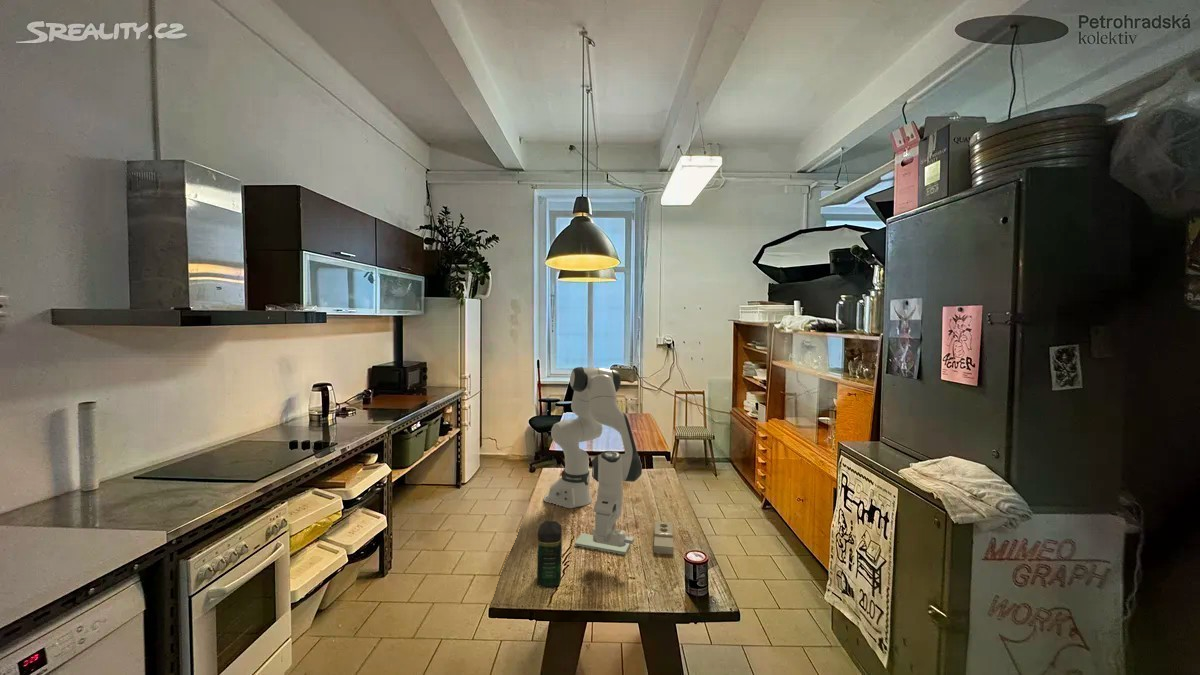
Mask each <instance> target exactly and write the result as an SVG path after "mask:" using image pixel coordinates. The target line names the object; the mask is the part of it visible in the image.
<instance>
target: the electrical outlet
mask: <svg viewBox="0 0 1200 675" xmlns="http://www.w3.org/2000/svg"><path fill="white" fill-rule="evenodd" d="M673 526H674V525H673V522H667V521H658V520H657V521H654V536H653V539H654V540H653V553H654V554H664V555H674V552H675V551H674V550H675V547H674V528H673Z"/></svg>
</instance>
